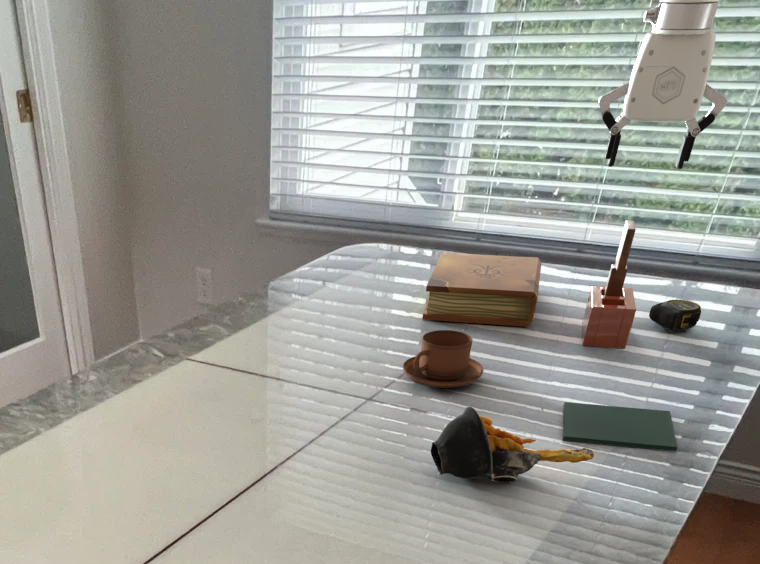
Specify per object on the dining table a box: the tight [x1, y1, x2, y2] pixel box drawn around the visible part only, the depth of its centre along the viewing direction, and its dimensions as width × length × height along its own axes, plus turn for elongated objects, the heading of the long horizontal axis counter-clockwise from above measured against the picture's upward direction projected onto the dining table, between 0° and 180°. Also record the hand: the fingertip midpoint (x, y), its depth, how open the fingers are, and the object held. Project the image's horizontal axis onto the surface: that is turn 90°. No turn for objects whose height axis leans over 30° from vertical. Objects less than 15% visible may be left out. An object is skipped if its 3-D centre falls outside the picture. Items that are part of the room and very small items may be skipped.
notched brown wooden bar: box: [603, 219, 637, 296], centre depth 138 cm, size 2×6×16 cm, turn 163°
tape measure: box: [648, 299, 702, 332], centre depth 142 cm, size 7×7×4 cm
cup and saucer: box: [402, 329, 484, 389], centre depth 127 cm, size 12×12×6 cm
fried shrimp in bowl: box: [430, 405, 595, 483], centre depth 102 cm, size 9×11×18 cm
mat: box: [562, 401, 678, 452], centre depth 115 cm, size 14×12×1 cm
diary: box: [422, 252, 542, 327], centre depth 154 cm, size 23×19×6 cm
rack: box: [581, 285, 637, 350], centre depth 140 cm, size 7×12×6 cm, turn 163°
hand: (644, 166), depth 127 cm, fingers open, 9 cm apart
